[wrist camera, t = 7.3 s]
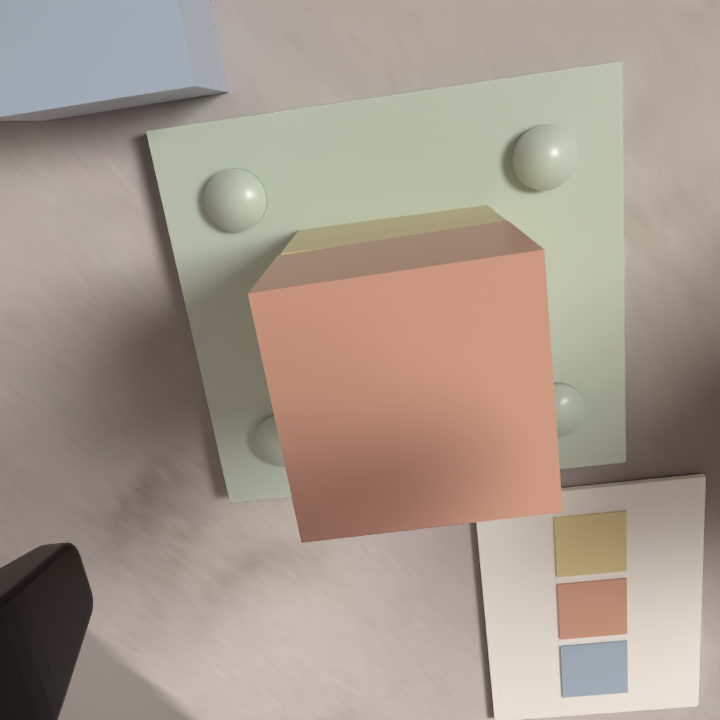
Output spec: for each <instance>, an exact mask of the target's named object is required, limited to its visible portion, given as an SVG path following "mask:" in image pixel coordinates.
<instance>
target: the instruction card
mask: <svg viewBox="0 0 720 720" xmlns="http://www.w3.org/2000/svg"><path fill="white" fill-rule="evenodd" d="M705 492H706V476H705V475H704V474H695V475H685V476H675V477H665V478H655V479H645V480H635V481H625V482H616V483H606V484H596V485H586V486H576V487H566V488H561V494H562V508H563V512H560V513H551V514H543V515H534V516H525V517H517V518H508V519H500V520H491V521H483V522H476V527H477V538H478V549H479V560H480V571H481V582H482V592H483V603H484V614H485V625H486V636H487V647H488V657H489V668H490V679H491V690H492V701H493V712H494V720H521V719H534V718H547V717H560V716H574V715H587V714H600V713H613V712H626V711H640V710H653V709H666V708H679V707H692V706H698V698H699V668H700V639H701V610H702V580H703V551H704V522H705Z"/></svg>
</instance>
